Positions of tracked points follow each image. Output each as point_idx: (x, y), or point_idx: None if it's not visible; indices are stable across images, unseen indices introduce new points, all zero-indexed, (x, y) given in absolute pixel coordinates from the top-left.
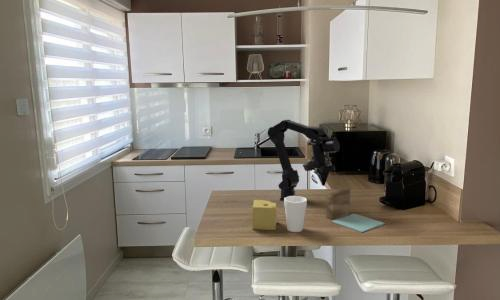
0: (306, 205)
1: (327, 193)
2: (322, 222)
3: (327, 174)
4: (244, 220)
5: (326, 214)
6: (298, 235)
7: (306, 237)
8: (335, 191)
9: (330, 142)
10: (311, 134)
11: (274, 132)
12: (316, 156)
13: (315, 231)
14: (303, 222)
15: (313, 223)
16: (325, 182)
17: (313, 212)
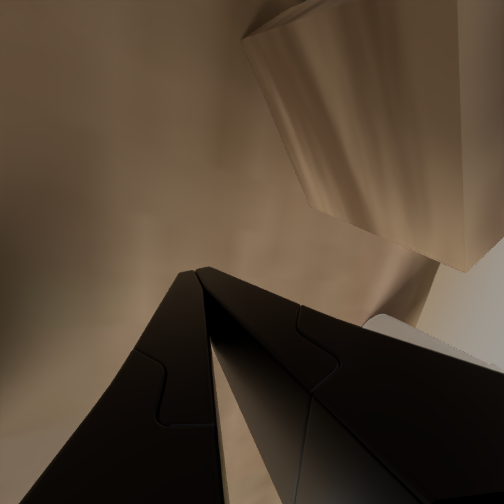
0: (495, 366)
1: (461, 265)
2: (351, 235)
3: (430, 384)
4: (268, 489)
5: (325, 211)
6: (408, 321)
7: (425, 299)
8: (485, 186)
9: None
10: None
11: None
12: None
13: (406, 272)
14: (413, 327)
15: (349, 275)
16: (240, 283)
17: (212, 266)
